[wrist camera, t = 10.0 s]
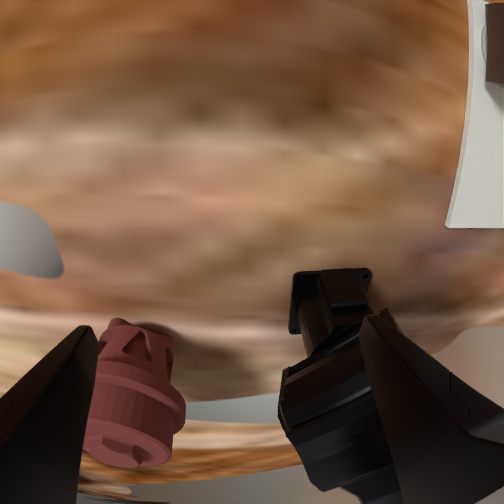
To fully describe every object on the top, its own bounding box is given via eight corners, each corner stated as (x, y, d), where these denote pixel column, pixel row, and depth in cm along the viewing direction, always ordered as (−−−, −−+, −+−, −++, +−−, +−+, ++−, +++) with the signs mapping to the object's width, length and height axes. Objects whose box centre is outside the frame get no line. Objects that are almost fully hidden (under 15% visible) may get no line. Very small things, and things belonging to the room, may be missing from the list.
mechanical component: (74, 300, 25) (179, 295, 25) (110, 371, 30) (199, 371, 30) (22, 415, 14) (159, 434, 15) (86, 472, 19) (195, 484, 20)
